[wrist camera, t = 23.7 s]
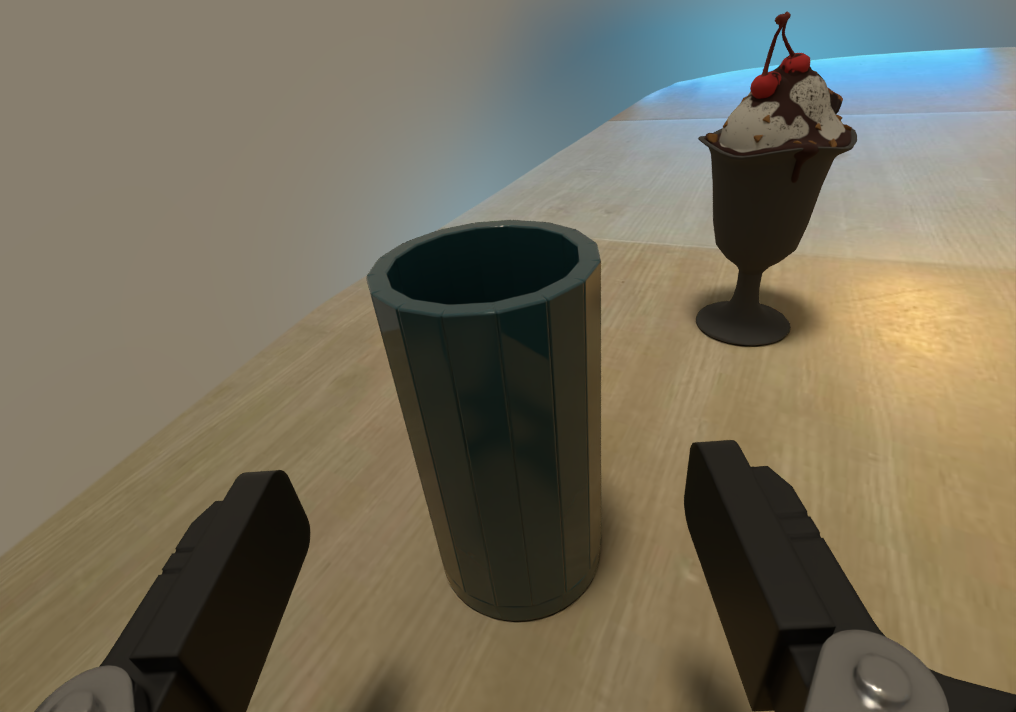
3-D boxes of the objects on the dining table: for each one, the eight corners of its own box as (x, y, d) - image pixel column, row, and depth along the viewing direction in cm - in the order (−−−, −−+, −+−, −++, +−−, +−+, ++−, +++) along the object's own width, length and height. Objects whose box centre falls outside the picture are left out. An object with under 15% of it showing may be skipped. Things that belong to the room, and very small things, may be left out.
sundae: (697, 359, 27) (738, 18, 19) (670, 300, 33) (693, 18, 25) (830, 352, 26) (932, -4, 18) (779, 293, 32) (840, 1, 24)
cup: (566, 650, 15) (544, 331, 9) (412, 584, 18) (316, 295, 12) (619, 510, 19) (627, 226, 13) (488, 471, 22) (446, 215, 16)
